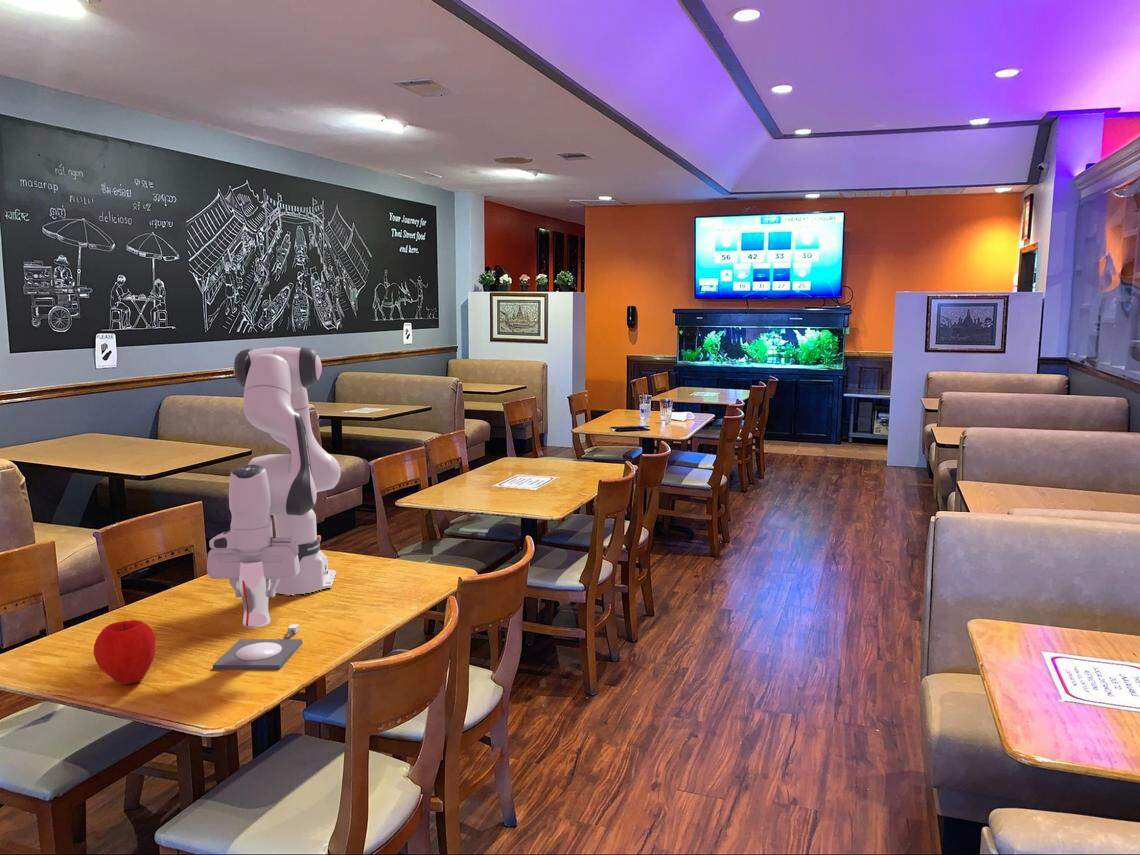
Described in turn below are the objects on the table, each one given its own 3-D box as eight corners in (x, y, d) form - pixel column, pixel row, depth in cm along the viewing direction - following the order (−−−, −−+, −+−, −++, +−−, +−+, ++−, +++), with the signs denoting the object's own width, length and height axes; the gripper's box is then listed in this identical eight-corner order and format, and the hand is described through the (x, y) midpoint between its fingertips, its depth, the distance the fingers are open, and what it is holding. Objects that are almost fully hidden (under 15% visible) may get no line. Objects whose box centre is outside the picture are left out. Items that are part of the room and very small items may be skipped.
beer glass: (238, 629, 190) (235, 564, 189) (242, 620, 197) (238, 556, 195) (271, 626, 192) (268, 561, 191) (273, 617, 199) (270, 554, 197)
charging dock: (253, 630, 212) (253, 624, 212) (313, 630, 212) (313, 624, 211) (212, 669, 189) (212, 662, 189) (279, 669, 189) (279, 662, 188)
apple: (83, 691, 178) (78, 630, 176) (122, 668, 190) (117, 611, 188) (134, 696, 176) (129, 634, 174) (170, 672, 188) (166, 614, 186)
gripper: (302, 533, 195) (305, 592, 197) (214, 534, 196) (218, 592, 198) (292, 541, 189) (296, 601, 191) (201, 541, 189) (205, 601, 191)
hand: (255, 596), depth 194 cm, fingers closed on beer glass, 6 cm apart
